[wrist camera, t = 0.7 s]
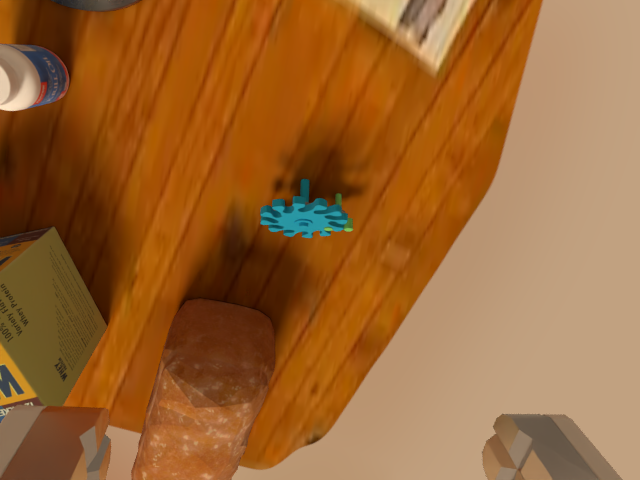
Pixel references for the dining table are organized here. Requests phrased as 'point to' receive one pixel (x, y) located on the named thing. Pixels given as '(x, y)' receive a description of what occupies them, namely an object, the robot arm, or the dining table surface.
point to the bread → (206, 392)
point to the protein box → (42, 321)
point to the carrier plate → (97, 4)
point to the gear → (306, 215)
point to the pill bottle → (30, 77)
